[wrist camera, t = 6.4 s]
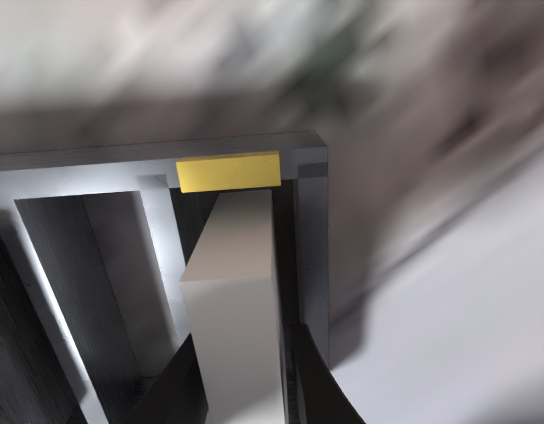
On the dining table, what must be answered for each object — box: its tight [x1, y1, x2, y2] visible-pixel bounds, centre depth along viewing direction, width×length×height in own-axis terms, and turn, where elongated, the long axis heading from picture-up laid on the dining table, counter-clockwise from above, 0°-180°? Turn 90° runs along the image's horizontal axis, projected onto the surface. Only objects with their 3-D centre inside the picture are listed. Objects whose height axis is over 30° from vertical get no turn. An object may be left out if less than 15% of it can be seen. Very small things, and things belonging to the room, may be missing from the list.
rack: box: [0, 130, 329, 424], centre depth 14 cm, size 17×15×6 cm
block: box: [179, 189, 289, 424], centre depth 13 cm, size 2×10×7 cm, turn 5°
